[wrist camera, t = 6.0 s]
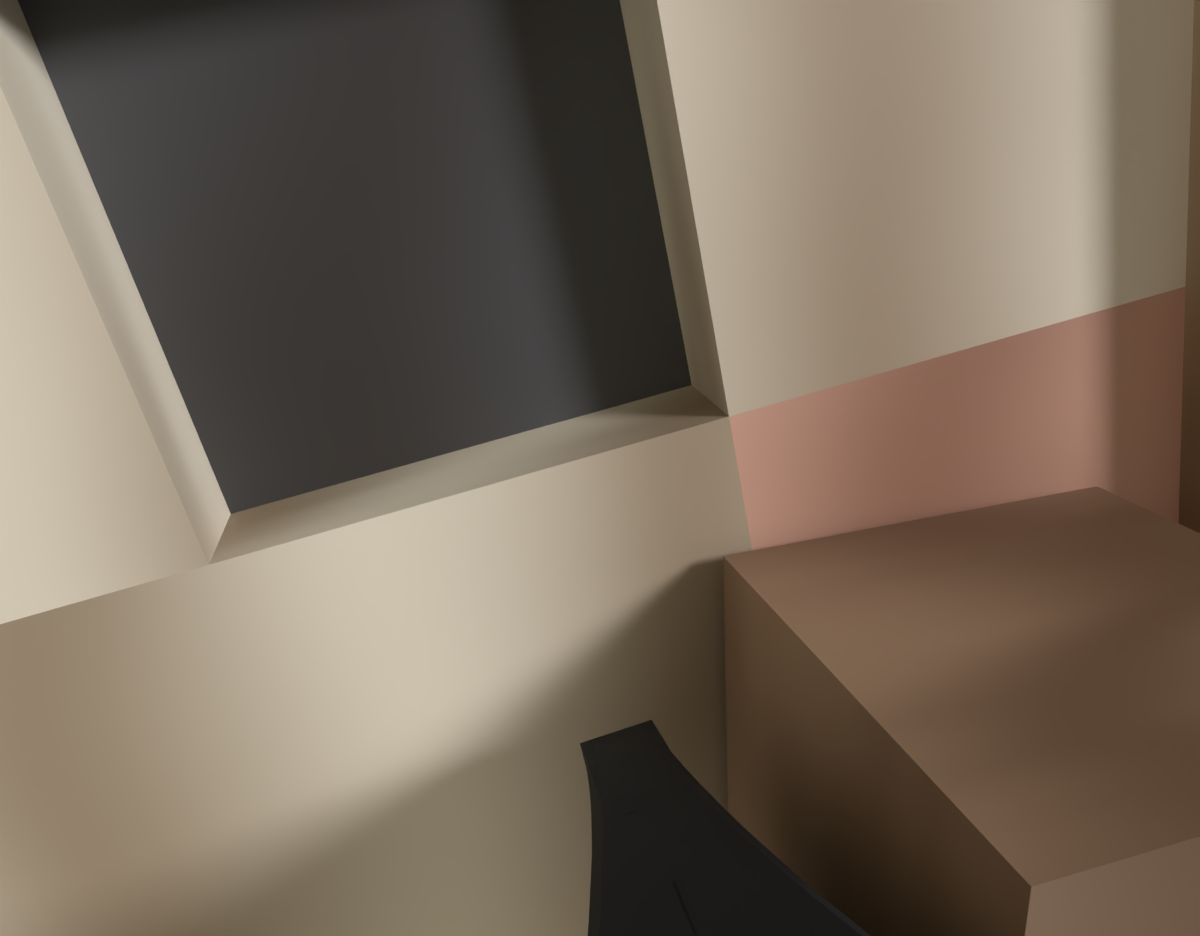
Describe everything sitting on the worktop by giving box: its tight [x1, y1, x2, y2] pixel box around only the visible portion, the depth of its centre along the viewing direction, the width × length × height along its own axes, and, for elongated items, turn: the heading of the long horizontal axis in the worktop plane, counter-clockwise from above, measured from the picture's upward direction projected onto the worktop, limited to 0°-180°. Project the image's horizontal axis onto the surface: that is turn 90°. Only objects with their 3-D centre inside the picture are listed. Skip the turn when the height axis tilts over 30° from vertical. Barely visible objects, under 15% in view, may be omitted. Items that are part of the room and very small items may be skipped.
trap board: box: [0, 0, 1200, 936], centre depth 10 cm, size 19×18×2 cm
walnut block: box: [723, 487, 1200, 936], centre depth 8 cm, size 4×4×4 cm
